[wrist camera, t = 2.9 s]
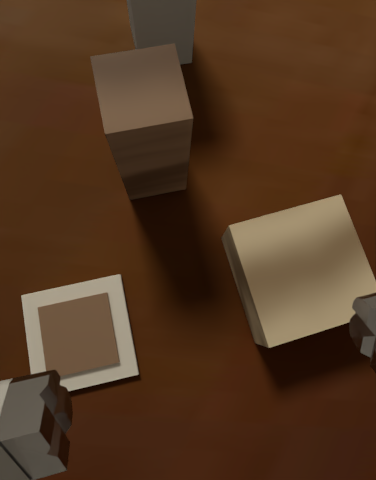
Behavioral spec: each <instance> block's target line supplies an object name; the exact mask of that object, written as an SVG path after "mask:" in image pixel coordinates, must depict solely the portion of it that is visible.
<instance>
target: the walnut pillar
mask: <svg viewBox="0 0 376 480" xmlns="http://www.w3.org/2000/svg"><path fill="white" fill-rule="evenodd" d="M90 58H91V63H92V68H93V73H94V79H95V84H96V89H97V94H98V100H99V105H100V110H101V116H102V121H103V126H104V131H105V135H106V138H107V141H108V143H109V146H110V149H111V151H112V154H113V157H114V159H115V162H116V164H117V167H118V170H119V172H120V175H121V178H122V180H123V183H124V186H125V188H126V191H127V194H128V196H129V199H130V200H133V199H139V198H144V197H149V196H154V195H159V194H164V193H169V192H174V191H179V190H184V189H186V184H187V175H188V165H189V155H190V146H191V136H192V127H193V115H192V111H191V107H190V103H189V99H188V95H187V91H186V87H185V83H184V78H183V74H182V70H181V66H180V62H179V58H178V54H177V50H176V46H175V43H173V44H167V45H161V46H154V47H148V48H142V49H136V50H129V51H123V52H117V53H110V54H104V55H98V56H91V57H90Z"/></svg>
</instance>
